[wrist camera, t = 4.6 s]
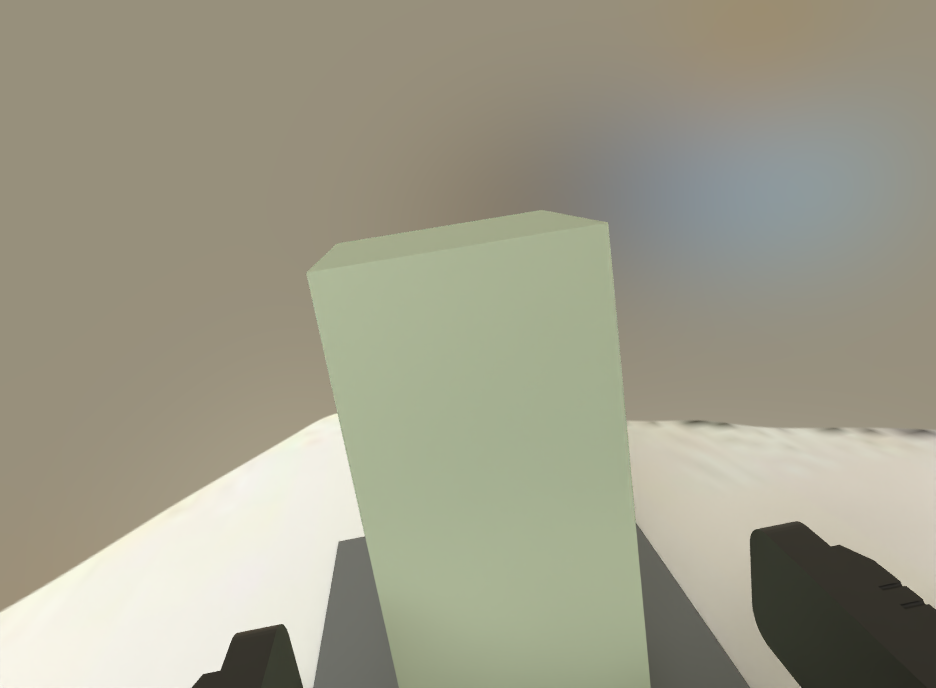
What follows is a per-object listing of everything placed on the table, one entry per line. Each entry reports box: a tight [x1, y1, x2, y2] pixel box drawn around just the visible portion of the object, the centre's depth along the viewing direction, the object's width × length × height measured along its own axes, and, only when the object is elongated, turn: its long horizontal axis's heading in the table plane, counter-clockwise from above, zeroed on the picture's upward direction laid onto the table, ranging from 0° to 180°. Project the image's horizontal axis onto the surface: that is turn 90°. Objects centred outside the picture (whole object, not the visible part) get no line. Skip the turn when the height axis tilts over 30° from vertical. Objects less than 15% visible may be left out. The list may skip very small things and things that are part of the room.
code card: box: [313, 524, 750, 688], centre depth 21 cm, size 13×17×1 cm
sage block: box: [306, 210, 651, 688], centre depth 16 cm, size 6×6×14 cm
